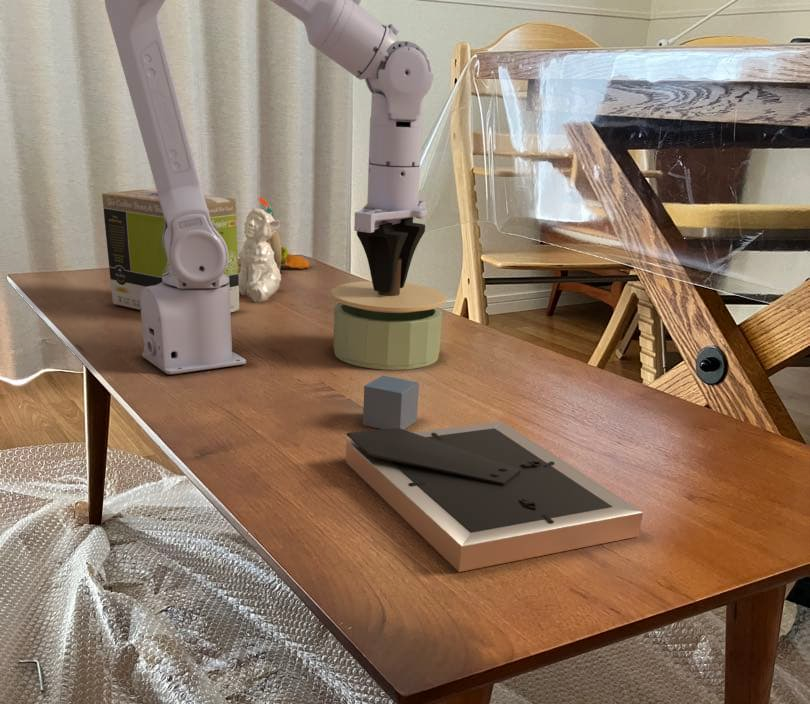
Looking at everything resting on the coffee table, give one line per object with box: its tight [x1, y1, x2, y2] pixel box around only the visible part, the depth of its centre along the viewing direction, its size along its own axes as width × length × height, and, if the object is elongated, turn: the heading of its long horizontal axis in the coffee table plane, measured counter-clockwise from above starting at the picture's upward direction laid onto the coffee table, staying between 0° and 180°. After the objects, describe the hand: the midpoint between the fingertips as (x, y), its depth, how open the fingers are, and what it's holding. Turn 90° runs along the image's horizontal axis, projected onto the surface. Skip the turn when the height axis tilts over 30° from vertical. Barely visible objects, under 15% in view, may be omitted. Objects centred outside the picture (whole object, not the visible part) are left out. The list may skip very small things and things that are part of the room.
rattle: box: [258, 196, 310, 271], centre depth 149 cm, size 8×8×12 cm
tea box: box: [101, 188, 240, 313], centre depth 122 cm, size 15×10×15 cm
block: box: [362, 375, 420, 430], centre depth 89 cm, size 4×4×4 cm
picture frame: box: [345, 420, 644, 573], centre depth 74 cm, size 16×3×21 cm
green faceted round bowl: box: [333, 302, 443, 371], centre depth 109 cm, size 13×13×6 cm
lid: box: [330, 258, 447, 313], centre depth 107 cm, size 14×14×5 cm
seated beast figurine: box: [238, 207, 282, 303], centre depth 133 cm, size 10×9×12 cm
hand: (388, 289), depth 107 cm, fingers closed on lid, 2 cm apart
